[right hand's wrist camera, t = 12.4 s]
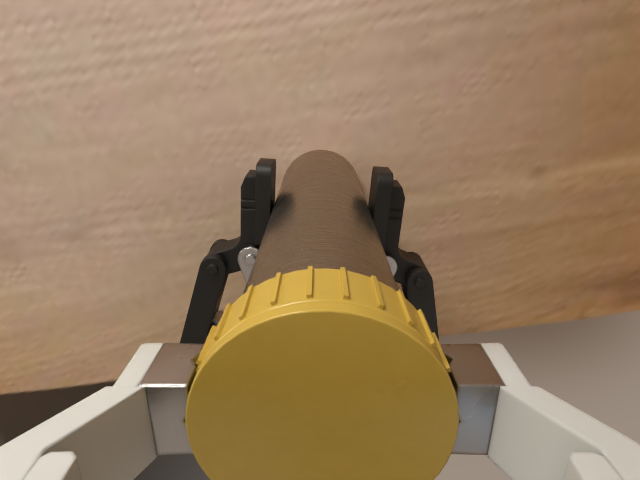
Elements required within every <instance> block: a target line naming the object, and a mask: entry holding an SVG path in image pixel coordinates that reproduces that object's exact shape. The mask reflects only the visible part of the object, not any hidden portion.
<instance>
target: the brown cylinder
mask: <svg viewBox="0 0 640 480" xmlns="http://www.w3.org/2000/svg"><path fill="white" fill-rule="evenodd" d="M308 266H313V269H322V268H330V269H339V270H340V267H345V268H346V271H351V272H355V273H359V274H362V275H365V276H368V277H371V275H374V276H376V278H377V280H378V281H380V282H382V283H384V284H386V285H388V286H389V287H391V288H392V289H394V290H395V291H398V287H397V285H396V282H395V279H394V277H393V274H392V271H391V268H390V266H389V263H388V260H387V257H386V255H385V252H384V249H383V246H382V244H381V241H380V238H379V236H378V233H377V230H376V227H375V225H374V222H373V219H372V216H371V214H370V211H369V208H368V206H367V203H366V200H365V197H364V195H363V192H362V189H361V186H360V184H359V181H358V178H357V176H356V173H355V171H354V169H353V167H352V166H351V165H350V163H349V162H348V161H347V160H346V159H345V158H343V157H342V156H340V155H338V154H336V153H334V152H331V151H326V150H316V151H311V152H307V153H305V154H303V155H301V156H299V157H298V158H297V159H296V160H294V161H293V162H292V164H291V165H290V166H289V168H288V169H287V171H286V174H285V176H284V179H283V182H282V185H281V188H280V190H279V193H278V196H277V199H276V202H275V205H274V208H273V210H272V213H271V216H270V219H269V222H268V225H267V228H266V230H265V233H264V236H263V239H262V242H261V245H260V248H259V250H258V253H257V256H256V259H255V262H254V265H253V268H252V270H251V273H250V276H249V279H248V282H247V285H246V288H245V290H244V293H243V294H245V293H246V292H247V290H248V287H249V286H251V285H253V286H254V287H255V286H257V285H259V284H260V283H262V282H264V281H266V280H269V279H271V278H274V277H276V273H279V272H281V273H282V274H286V273H289V272H293V271H298V270H306V269H308Z"/></svg>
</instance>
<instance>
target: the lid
mask: <svg viewBox="0 0 640 480" xmlns="http://www.w3.org/2000/svg"><path fill="white" fill-rule="evenodd" d="M196 364H197V365H198V366H197V368H196V372H197V373H196V375H195V378H194V380H193V383H192V386H191V388H190V391H189V394H188V399H187V404H186V422H185V423H186V429H187V436H188V440H189V443H190V446H191V449H192V452H193V454H194V456H195V458H196V460H197V462H198V464H199V465H200V467H201V468H202V470H203V471H204V472H205V474H206V475H207V476H208V477H209V479H210V480H434V479H435V478H436V477H437V476H438V474H439V473H440V472H441V470H442V469H443V467H444V466H445V464H446V463H447V461H448V459H449V457H450V455H451V453H452V450H453V448H454V445H455V441H456V438H457V433H458V426H459V406H458V401H457V396H456V392H455V389H454V386H453V384H452V381H451V379H450V376H449V374H448V373H449V372H451V368H450V366H449V364H448V361H447V359H446V357H445V355H444V352H443V350H442V348H441V346H440V343H439V341H438V339H437V337H436V334H435V332H433V333H432V332H431V330H430V327H429V325H428V323H427V320H426V318H425V316H424V314H423V312H422V310H421V309H419V310H418V311H417V310H416V308H415V307H414V306H413V305H412V304H411V303H410V302H409V301H408V300H407V299H406V298H405V297H404V294H403V292H402V291H401V290H400V289H399V290H398V291H395V290H394V289H392V288H391V287H389V286H388V285H386V284H384V283H382V282H380V281H378V280H377V278H376V276H374V275H371V277H368V276H365V275H362V274H359V273H355V272H351V271H346V268H345V267H340V270H339V269H330V268H322V269H313V266H308V269H306V270H298V271H293V272H289V273H286V274H282V273H281V272H279V273H276V277H274V278H271V279H269V280H266V281H264V282H262V283H260V284H259V285H257V286H255V287H254V286H253V285H251V286H249V287H248V290H247V292H246V293H245V294H243V295H242V296H241V297H239V298H238V299H237V300H236V301H235V302H234V303H233V304H232V305H231V304H230V303H228V304H227V306H226V308H225V310H224V313H223V315H222V317H221V319H220V321H219V323H218V324H217V326H214V325H213V326H212V328H211V330H210V332H209V335H208V337H207V339H206V342H205V344H204V346H203V349H202V351H201V353H200V355H199V358H198V360H197V362H196Z"/></svg>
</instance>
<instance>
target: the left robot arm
mask: <svg viewBox="0 0 640 480" xmlns="http://www.w3.org/2000/svg"><path fill="white" fill-rule="evenodd" d="M275 178H276V159H265V158H261V159H260V160H259V161H258V163H257V166H256V170H250V171H249V172H248V174H247V175H246V176H245V179H244V181H243V183H242V186H241V236H240V237H238V238H236V239H232V240H229V241H228V240H225V239H220V240H217V241H215V242H214V244H213V245H212V247H211V249H210V252H209V253H208V255H207V256H206V257H205V258H204V259H203V261H202V263H201V265H200V268H199V272H198V276H197V280H196V283H195V287H194V291H193V295H192V299H191V303H190V307H189V310H188V314H187V318H186V322H185V326H184V330H183V333H182V337H181V341H180V343H188V344H205V342H206V339H207V337H208V335H209V332H210V330H211V328H212V326H213V325H214V326H217V324H218V323H219V321H220V319H221V317H222V315H223V313H224V312H223V311H218V308H219V305H220V302H221V298H222V295H223V291H224V288H225V284H226V281H227V277H228V274H229V273H233V272H237V271H242V274H243V276H244V279H245V282H246V284H247V282H248V279H249V276H250V273H251V270H252V268H253V265H254V262H255V259H256V256H257V253H258V250H259V248H260V245H261V242H262V239H263V236H264V233H265V230H266V228H267V225H268V222H269V219H270V216H271V213H272V210H273V208H274V205H275ZM404 201H405V197H404V193H403V189H402V187H401V185H400V184H399V182H398V181H397V180H393V173H392V172H391V170H390V169H389V168H388V167H375V166H374V167H373V171H372V178H371V187H370V196H369V204H368V208H369V211H370V214H371V216H372V219H373V222H374V225H375V227H376V230H377V233H378V236H379V238H380V241H381V244H382V246H383V249H384V252H385V255H386V257H387V260H388V263H389V266H390V268H391V271H392V274H393V277H394V279H395V281H396V282H398V283H400V284H402V291H403V294H404V297H405V298H406V299H407V300H408V301H409V302H410V303H411V304H412V305H413V306H414V307H415V308H416V310H417V311H418V310H419V309H421V310H422V312H423V314H424V316H425V318H426V320H427V323H428V325H429V327H430V330H431V332H432V333H433V332H435V334H436V337H437V339H438V341H439V337H438V328H437V318H436V309H435V300H434V290H433V281H432V277H431V275H430V274H429V272H428V270H427V268H426V266H425V265H424V263H423V261H422V259H421V257H420V256H419V255H418V254H417V253H415V252H406V251H403V250H401V249H399V248H398V243H399V236H400V229H401V222H402V215H403V208H404Z"/></svg>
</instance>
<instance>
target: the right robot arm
mask: <svg viewBox="0 0 640 480" xmlns="http://www.w3.org/2000/svg"><path fill="white" fill-rule="evenodd" d="M203 346H204V344H188V343H144V344H142V345H141V346H140V347H139V348H138V350H137V351H136V353H135V354H134V356H133V357H132V359H131V360H130V362H129V363H128V365H127V366H126V368H125V369H124V371H123V372H122V374H121V375H120V377H119V378H118V380H117V381H116V383H115V384H114V386H111V387H105V388H103V389H101V390H99V391H98V392H96V393H94V394H92V395H91V396H89V397H87V398H85V399H84V400H82V401H80V402H78V403H76V404H75V405H73V406H71V407H69V408H68V409H66V410H64V411H62V412H61V413H59V414H57V415H55V416H54V417H52V418H50V419H48V420H46V421H45V422H43V423H41V424H39V425H38V426H36V427H34V428H32V429H31V430H29V431H27V432H25V433H24V434H22V435H20V436H18V437H17V438H15V439H13V440H11V441H9V442H8V443H6V444H4V445H3V446H1V447H0V480H133V479H134V478H135V477H136V476H137V475H139V474H140V473H141V472H142V471H143V470H144V469H145V468H146V467H147V466H148V465H149V464H150V463H151V462H152V461H153V460H154V459H155V458H156V457H157V456H156V455H170V454H193V452H192V449H191V446H190V443H189V440H188V436H187V429H186V423H185V422H186V404H187V399H188V394H189V391H190V388H191V386H192V383H193V380H194V378H195V375H196V373H197V372H196V368H197V366H198V365H197V364H196V362H197V360H198V358H199V355H200V353H201V351H202V349H203ZM440 346H441V348H442V350H443V352H444V355H445V357H446V359H447V361H448V364H449V366H450V368H451V372H449V373H448V374H449V376H450V379H451V381H452V384H453V386H454V389H455V392H456V396H457V401H458V406H459V426H458V433H457V438H456V441H455V445H454V448H453V450H452V453H451V454H474V455H488V458H489V459H491V460H492V461H493V462H494V463H495V464H496V465H497V466H498V467H499V468H500V469H501V470H502V471H503V472H504V473H505V474H506V475H507V476H508V477H509V478H510V479H511V480H640V444H639V443H638V442H636V441H634V440H632V439H630V438H629V437H627V436H625V435H623V434H622V433H620V432H618V431H616V430H615V429H613V428H611V427H609V426H607V425H606V424H604V423H602V422H600V421H599V420H597V419H595V418H593V417H591V416H590V415H588V414H586V413H584V412H583V411H581V410H579V409H577V408H576V407H574V406H572V405H570V404H568V403H567V402H565V401H563V400H561V399H559V398H558V397H556V396H554V395H552V394H551V393H549V392H547V391H545V390H544V389H542V388H540V387H532V386H531V385H530V383H529V382H528V380H527V379H526V378H525V376H524V375H523V373H522V372H521V370H520V369H519V367H518V366H517V365H516V363H515V362H514V360H513V359H512V357H511V356H510V355H509V353H508V352H507V350H506V349H505V347H504V346H503V345H502V344H500V343H478V344H440Z"/></svg>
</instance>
